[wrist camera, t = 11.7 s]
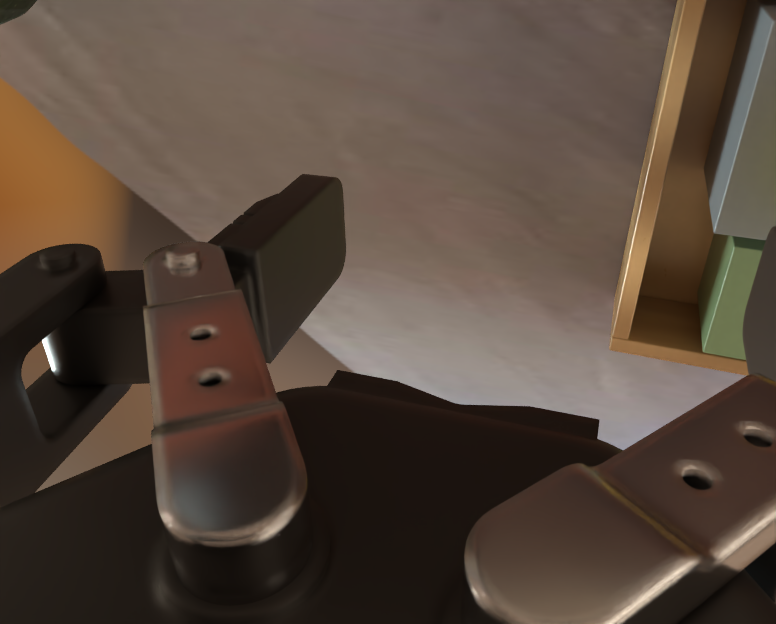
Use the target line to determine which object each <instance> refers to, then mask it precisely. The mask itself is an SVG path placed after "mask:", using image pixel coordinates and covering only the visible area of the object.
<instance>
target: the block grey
mask: <svg viewBox="0 0 776 624" xmlns="http://www.w3.org/2000/svg"><path fill="white" fill-rule="evenodd" d="M704 173H705V180H706V186H707V193H708V199H709V206H710V212H711V219H712V225H713V231H714V233H716V234H723V235H730V236H738V237H745V238H752V239H759V240H766V239H767V236H768V234H769V231H770V230H771V228H772V227H773V226H776V0H747V3H746V7H745V10H744V14H743V18H742V22H741V26H740V30H739V34H738V38H737V41H736V45H735V49H734V53H733V57H732V61H731V65H730V69H729V73H728V76H727V80H726V84H725V88H724V92H723V96H722V100H721V104H720V107H719V111H718V115H717V119H716V123H715V127H714V131H713V135H712V138H711V142H710V146H709V150H708V154H707V158H706V162H705V166H704Z"/></svg>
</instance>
